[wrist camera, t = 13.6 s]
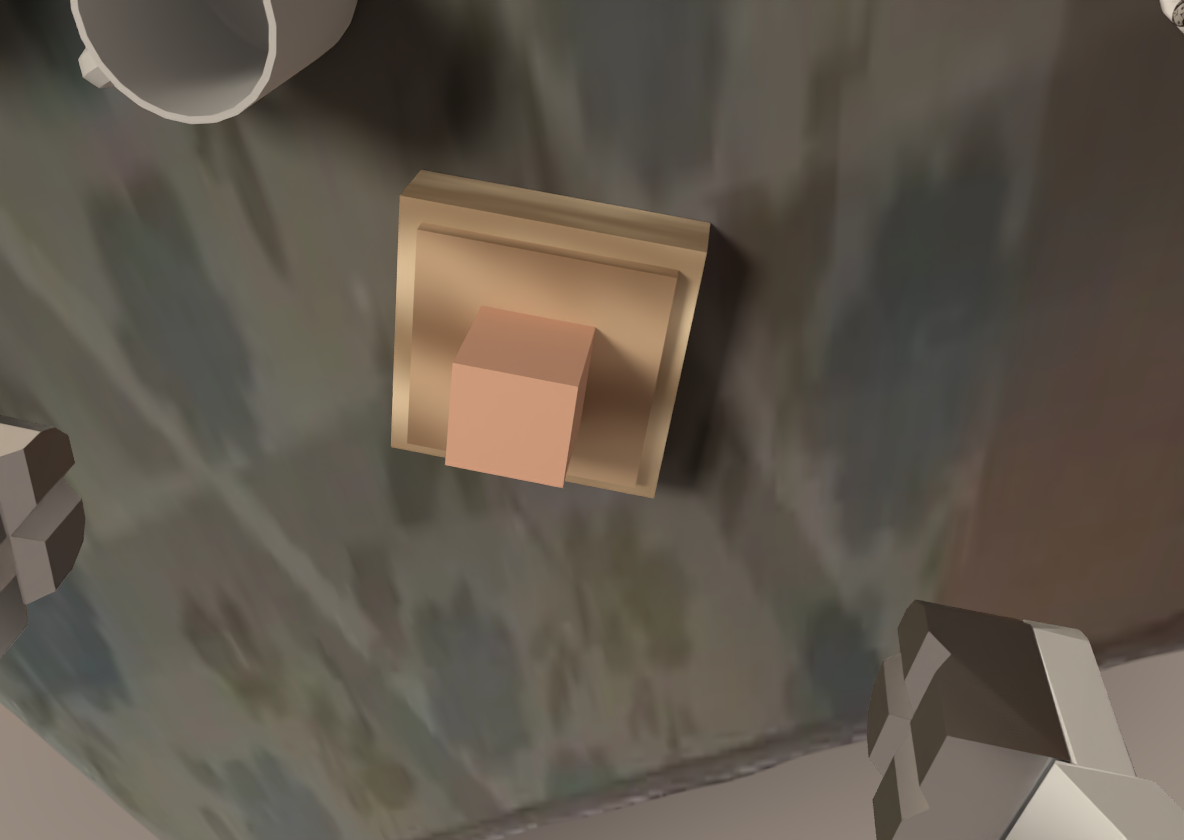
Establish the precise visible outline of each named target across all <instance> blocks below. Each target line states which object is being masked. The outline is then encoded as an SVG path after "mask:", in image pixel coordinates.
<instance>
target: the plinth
mask: <svg viewBox="0 0 1184 840" xmlns="http://www.w3.org/2000/svg"><path fill="white" fill-rule="evenodd" d="M709 231H710V223H708V222H702V221H697V220H691V219H686V218H680V217H675V216H670V215H664V214H659V213H653V212H648V211H643V210H637V209H632V208H626V207H621V206H615V205H610V204H605V203H599V202H594V201H588V200H583V199H578V198H572V197H567V196H561V195H556V194H550V193H545V192H540V191H534V190H529V189H523V188H518V187H513V186H507V185H502V184H496V183H491V182H485V181H480V180H475V179H469V178H464V177H458V176H453V175H448V174H442V173H437V172H431V171H426V170H420V171H419V173H418V174H417V175H416V176H415V178H414V179H413V180H412V181H411V182H410V184H409V185H408V186H407V187H406V189H405V190H404V191H403V192H402V194H401V195H400V206H399V234H398V263H397V291H396V320H395V348H394V376H393V405H392V433H391V447H394V448H399V449H404V450H409V451H415V452H420V453H425V454H430V455H435V456H440V457H445V458H446V447H447V433H448V419H449V406H450V392H451V378H452V364H453V361H454V359H455V357H456V355H457V353H458V351H459V349H460V347H461V345H462V343H463V341H464V339H465V337H466V335H467V333H468V331H469V329H470V327H471V325H472V324H473V322H474V320H475V318H476V316H477V314H478V312H479V310H480V308H481V306H487V307H492V308H497V309H503V310H508V311H513V312H518V313H524V314H529V315H534V316H540V317H545V318H550V319H555V320H561V321H566V322H571V323H577V324H582V325H587V326H592V327H596V328H595V334H594V341H593V347H592V353H591V360H590V366H589V372H588V379H587V385H586V391H585V398H584V404H583V410H582V417H581V423H580V426H579V430H578V434H577V437H576V441H575V445H574V448H573V452H572V456H571V459H570V463H569V467H568V470H567V474H566V478H565V481H568V482H573V483H578V484H583V485H588V486H593V487H598V488H603V489H608V490H614V491H619V492H624V493H629V494H634V495H639V496H644V497H649V498H654V495H655V490H656V486H657V481H658V476H659V472H660V467H661V463H662V458H663V453H664V449H665V444H666V440H667V435H668V430H669V426H670V421H671V416H672V412H673V407H674V403H675V398H676V393H677V389H678V384H679V380H680V375H681V370H682V366H683V361H684V356H685V352H686V347H687V343H688V338H689V333H690V329H691V324H692V320H693V315H694V310H695V306H696V301H697V296H698V292H699V287H700V283H701V278H702V273H703V269H704V264H705V260H706V255H707V248H708V240H709Z"/></svg>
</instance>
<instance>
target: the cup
mask: <svg viewBox="0 0 1184 840" xmlns="http://www.w3.org/2000/svg"><path fill="white" fill-rule="evenodd" d="M70 2H71V10H72V13H73V16H74V19H75V22H76V25H77V28H78V31H79V34H80V37H81V39H82V41H83V42H84V44H85V46H86V48H85V50H84V51H83V53H82V54H81V56H80V58H79V59H78V60H79V64H80V68H81V72H82V75H83V78H85V79H86V80H88V81H89V82H91V83H92V84H94V85H95V86H97V87H98V88H106V87H116V88H117V89H119V90H120V91H121V92H123V93H124V94H125V95H126V96H128V97H129V98H130V99H132V100H133V101H134V102H135V103H137V104H138V105H139V106H141V107H143V108H145V109H147V110H149V111H151V112H153V113H155V114H158V115H160V116H162V117H164V118H167V119H171V120H176V121H180V122H185V123H189V124H200V123H216V122H219V121H222V120H224V119H227V118H230V117H233V116H235V115H238V114H239V113H241V112H242V111H244V110H245V109H247V108H248V107H249V106H251V105H252V104H254V103H255V102H257V101H258V100H259V99H261V98H262V97H264V96H265V95H267V94H268V93H269V92H271V91H272V90H274V89H275V88H277V87H278V86H279V85H281V84H282V83H284V82H285V81H287V80H288V79H289V78H291V77H292V76H294V75H295V74H297V73H298V72H299V71H301V70H302V69H304V68H305V67H307V66H308V65H309V64H311V63H312V62H314V61H315V60H317V59H318V58H319V57H320V56H322V55H323V54H324V53H325V52H327V51H328V50H329V49H330V48H332V47H333V46H334V45H335V44H336V43H337V42H338V41H339V40H340V38H341V37H342V35H343V34H344V32H345V31H346V29H347V28H348V26H349V25H350V23H351V20H352V17H353V14H354V11H355V8H356V4H357V0H70Z"/></svg>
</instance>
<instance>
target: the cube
mask: <svg viewBox="0 0 1184 840" xmlns="http://www.w3.org/2000/svg"><path fill="white" fill-rule="evenodd" d="M595 328H596V327H592V326H587V325H582V324H577V323H571V322H566V321H561V320H555V319H550V318H545V317H540V316H534V315H529V314H524V313H518V312H513V311H508V310H503V309H497V308H492V307H487V306H481V308H480V310H479V312H478V314H477V316H476V318H475V320H474V322H473V324H472V325H471V327H470V329H469V331H468V333H467V335H466V337H465V339H464V341H463V343H462V345H461V347H460V349H459V351H458V353H457V355H456V357H455V359H454V361H453V364H452V378H451V392H450V406H449V419H448V433H447V447H446V461H445V465H448V466H454V467H459V468H464V469H469V470H474V471H479V472H484V473H489V474H494V475H499V476H505V477H510V478H515V479H520V480H525V481H530V482H535V483H540V484H545V485H550V486H556V487H561V488H563V485H564V481H565V478H566V474H567V470H568V467H569V463H570V459H571V456H572V452H573V448H574V445H575V441H576V437H577V434H578V430H579V426H580V423H581V417H582V410H583V404H584V398H585V391H586V385H587V379H588V372H589V366H590V360H591V353H592V347H593V341H594V334H595Z"/></svg>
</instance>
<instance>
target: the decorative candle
mask: <svg viewBox="0 0 1184 840" xmlns="http://www.w3.org/2000/svg"><path fill="white" fill-rule="evenodd" d="M1159 1H1160V5H1161V8H1162V12H1163V13H1164V14H1165V15H1166V16H1167V17H1168V18H1169V19H1170V20H1171V21H1172V22H1173V24H1174V25H1176V26H1177V27H1178V28H1179V30H1180V31H1181V32H1182V33H1183V34H1184V0H1159Z"/></svg>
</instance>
